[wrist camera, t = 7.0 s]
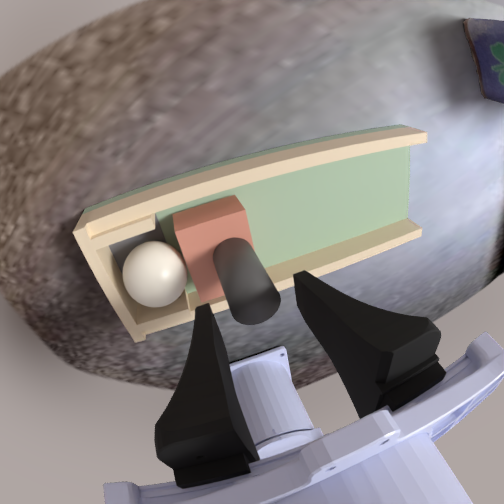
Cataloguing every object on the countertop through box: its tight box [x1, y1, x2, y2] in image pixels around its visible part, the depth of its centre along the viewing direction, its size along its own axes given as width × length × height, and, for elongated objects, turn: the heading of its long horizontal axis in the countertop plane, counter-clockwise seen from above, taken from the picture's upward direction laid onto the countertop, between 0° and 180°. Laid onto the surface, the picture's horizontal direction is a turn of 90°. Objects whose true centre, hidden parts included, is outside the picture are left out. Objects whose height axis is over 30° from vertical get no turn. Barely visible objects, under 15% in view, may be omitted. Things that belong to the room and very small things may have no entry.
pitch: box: [73, 125, 427, 343], centre depth 20 cm, size 9×24×4 cm, turn 101°
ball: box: [123, 241, 187, 307], centre depth 18 cm, size 4×4×4 cm
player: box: [172, 195, 281, 325], centre depth 17 cm, size 5×4×7 cm
